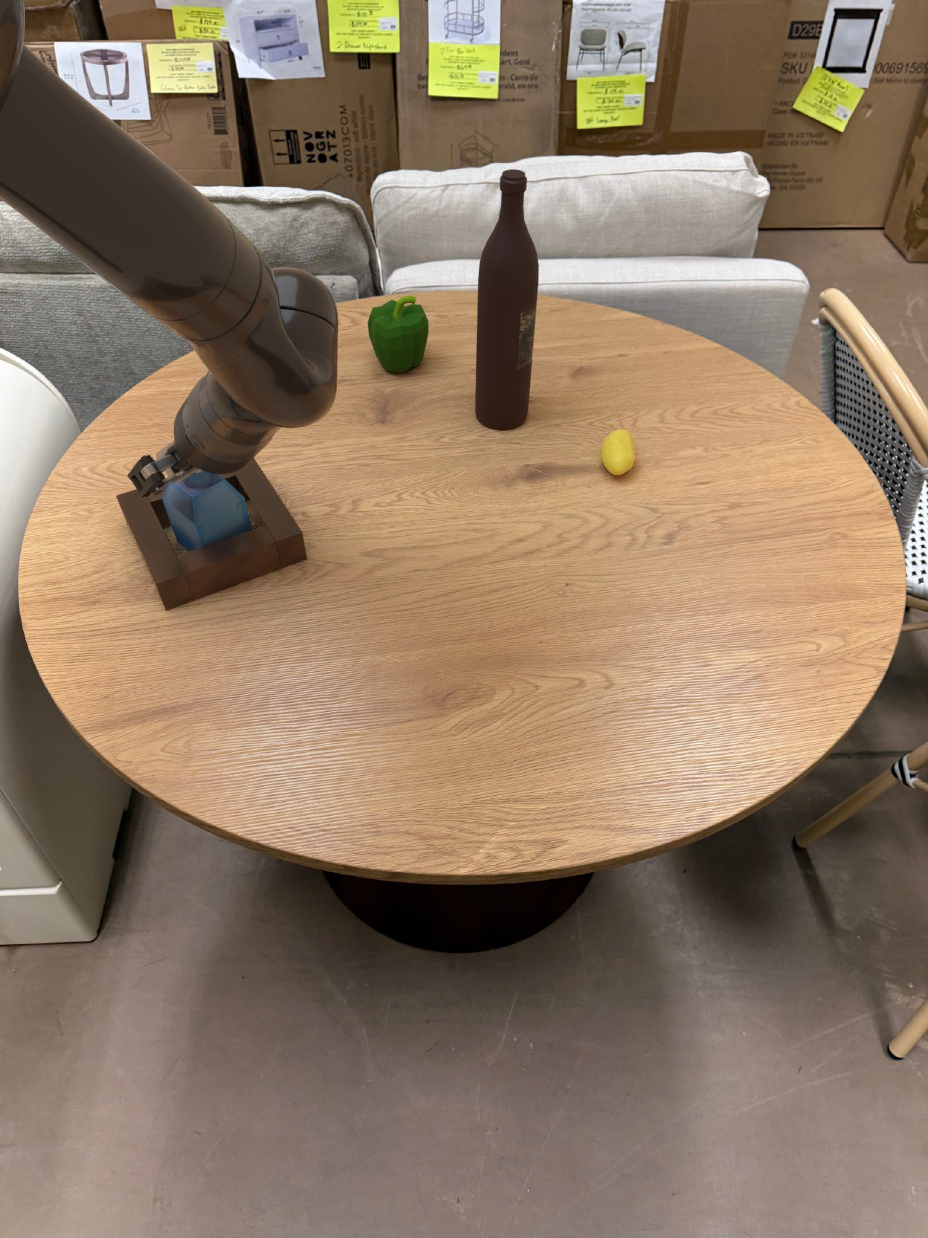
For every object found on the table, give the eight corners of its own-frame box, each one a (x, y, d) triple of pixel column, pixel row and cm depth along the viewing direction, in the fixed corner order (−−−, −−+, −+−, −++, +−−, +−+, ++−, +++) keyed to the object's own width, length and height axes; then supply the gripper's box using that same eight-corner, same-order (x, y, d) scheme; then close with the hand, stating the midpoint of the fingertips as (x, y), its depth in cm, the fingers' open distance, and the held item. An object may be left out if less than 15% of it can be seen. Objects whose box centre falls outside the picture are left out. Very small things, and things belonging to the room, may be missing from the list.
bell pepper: (362, 373, 115) (355, 306, 107) (382, 345, 120) (378, 278, 113) (418, 383, 113) (415, 316, 106) (436, 354, 118) (435, 287, 111)
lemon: (635, 447, 104) (640, 422, 101) (630, 486, 99) (635, 460, 96) (602, 443, 104) (607, 417, 101) (595, 481, 99) (599, 455, 96)
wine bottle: (518, 435, 105) (536, 190, 83) (467, 424, 107) (471, 180, 85) (534, 406, 110) (555, 166, 87) (485, 396, 111) (493, 157, 89)
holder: (165, 610, 84) (155, 583, 81) (126, 522, 93) (115, 495, 90) (307, 558, 90) (302, 531, 87) (257, 480, 99) (251, 453, 96)
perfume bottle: (255, 540, 92) (233, 453, 83) (208, 568, 89) (181, 480, 80) (222, 515, 94) (198, 428, 86) (176, 541, 91) (146, 453, 83)
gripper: (271, 351, 74) (226, 408, 88) (129, 414, 67) (104, 465, 81) (314, 425, 75) (263, 469, 89) (180, 494, 69) (147, 530, 83)
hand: (188, 467), depth 85 cm, fingers open, 8 cm apart
